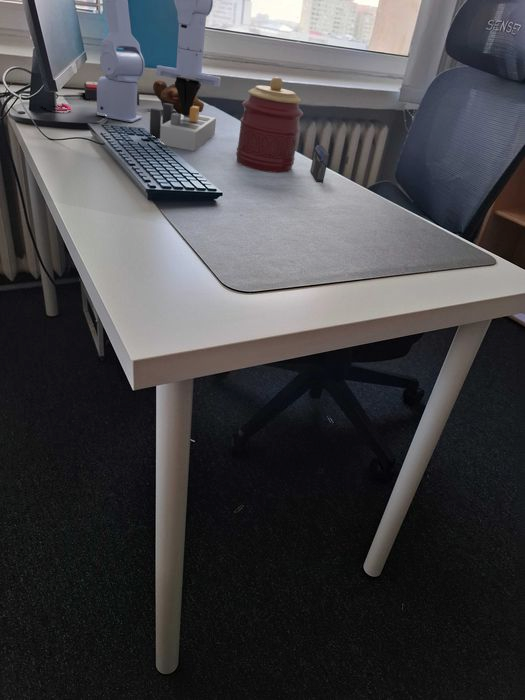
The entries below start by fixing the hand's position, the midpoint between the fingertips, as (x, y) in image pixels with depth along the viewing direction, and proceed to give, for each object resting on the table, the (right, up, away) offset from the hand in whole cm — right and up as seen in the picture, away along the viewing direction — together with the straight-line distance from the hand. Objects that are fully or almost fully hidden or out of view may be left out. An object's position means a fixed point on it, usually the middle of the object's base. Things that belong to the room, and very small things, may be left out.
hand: (185, 115), depth 121 cm
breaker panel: (0, -5, +3) cm, 5 cm away
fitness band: (-34, +4, +7) cm, 35 cm away
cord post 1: (-7, -6, -1) cm, 9 cm away
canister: (+19, -15, -7) cm, 25 cm away
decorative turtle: (-7, +13, +29) cm, 32 cm away
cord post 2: (-6, 0, +7) cm, 9 cm away
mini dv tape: (+30, -18, -9) cm, 36 cm away
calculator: (-27, +19, +32) cm, 46 cm away
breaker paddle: (+2, -1, 0) cm, 2 cm away
